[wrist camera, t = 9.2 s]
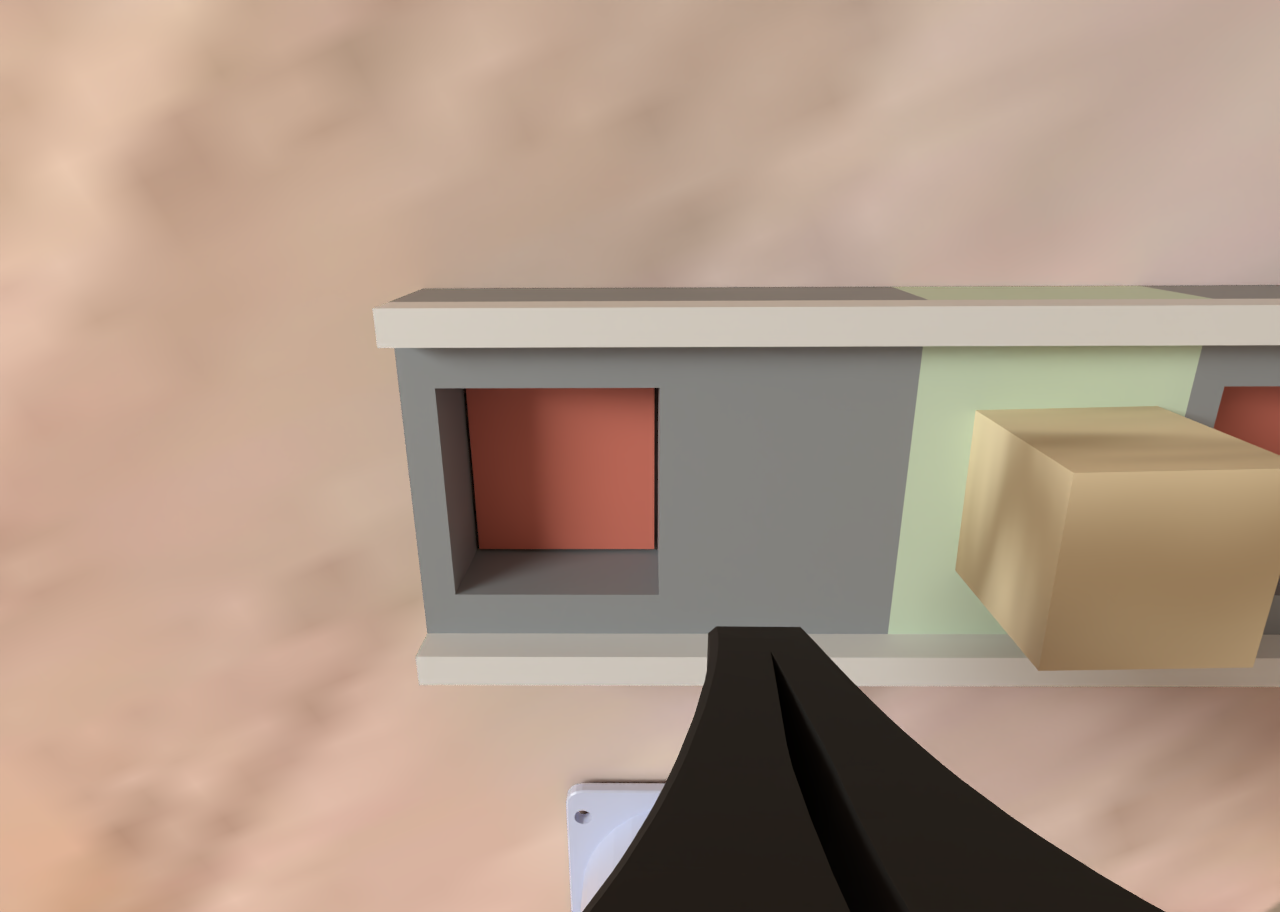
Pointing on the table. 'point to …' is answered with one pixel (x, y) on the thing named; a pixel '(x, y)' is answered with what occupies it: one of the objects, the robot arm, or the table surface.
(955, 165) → the table surface
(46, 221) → the table surface
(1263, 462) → the maple block
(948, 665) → the trap lane
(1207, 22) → the table surface
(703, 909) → the robot arm
